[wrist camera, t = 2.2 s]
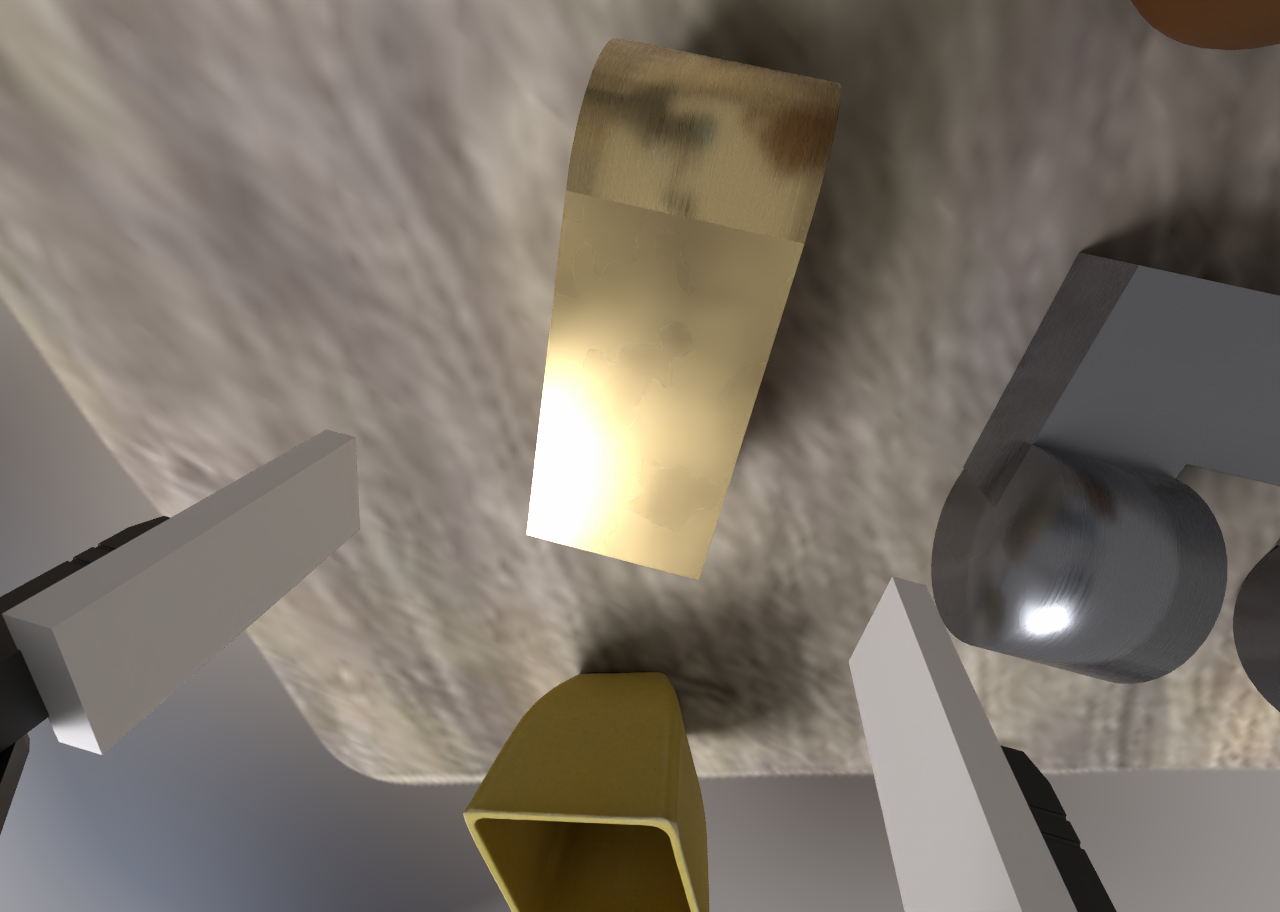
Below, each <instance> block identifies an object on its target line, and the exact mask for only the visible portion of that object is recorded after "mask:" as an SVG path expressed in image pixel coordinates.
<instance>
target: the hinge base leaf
mask: <svg viewBox="0 0 1280 912" xmlns="http://www.w3.org/2000/svg"><path fill="white" fill-rule="evenodd" d="M1186 464H1189V465H1193V466H1197V467H1201V468H1205V469H1210V470H1214V471H1218V472H1222V473H1226V474H1231V475H1235V476H1239V477H1243V478H1247V479H1252V480H1256V481H1260V482H1264V483H1268V484H1273V485H1277V486H1280V296H1279V295H1274V294H1270V293H1265V292H1260V291H1256V290H1251V289H1247V288H1242V287H1237V286H1233V285H1228V284H1224V283H1219V282H1214V281H1210V280H1205V279H1201V278H1196V277H1191V276H1187V275H1182V274H1178V273H1173V272H1168V271H1164V270H1159V269H1154V268H1150V267H1145V266H1141V265H1136V264H1131V263H1127V262H1122V261H1117V260H1113V259H1108V258H1103V257H1099V256H1094V255H1089V254H1085V253H1079V255H1078V256H1077V258H1076V260H1075V262H1074V264H1073V266H1072V267H1071V269H1070V271H1069V273H1068V275H1067V277H1066V279H1065V280H1064V282H1063V284H1062V286H1061V288H1060V290H1059V292H1058V293H1057V295H1056V297H1055V299H1054V301H1053V303H1052V304H1051V306H1050V308H1049V310H1048V312H1047V314H1046V316H1045V317H1044V319H1043V321H1042V323H1041V325H1040V327H1039V329H1038V330H1037V332H1036V334H1035V336H1034V338H1033V340H1032V342H1031V343H1030V345H1029V347H1028V349H1027V351H1026V353H1025V354H1024V356H1023V358H1022V360H1021V362H1020V364H1019V366H1018V367H1017V369H1016V371H1015V373H1014V375H1013V377H1012V379H1011V380H1010V382H1009V384H1008V386H1007V388H1006V390H1005V391H1004V393H1003V395H1002V397H1001V399H1000V401H999V403H998V404H997V406H996V408H995V410H994V412H993V414H992V416H991V417H990V419H989V421H988V423H987V425H986V427H985V428H984V430H983V432H982V434H981V436H980V438H979V440H978V441H977V443H976V445H975V447H974V449H973V451H972V453H971V454H970V456H969V458H968V460H967V462H966V464H965V465H964V467H963V468H964V469H965V470H964V471H963V472H962V474H961V475H960V477H959V478H958V479H957V481H956V483H955V484H954V486H953V488H952V490H951V492H950V494H949V496H948V498H947V500H946V502H945V505H944V507H943V509H942V512H941V515H940V518H939V521H938V525H937V529H936V533H935V538H934V544H933V551H932V564H931V575H932V587H933V593H934V598H935V602H936V606H937V609H938V611H939V614H940V616H941V618H942V620H943V622H944V624H945V625H946V627H947V628H948V630H949V631H950V632H951V633H952V634H953V635H954V636H955V637H956V638H958V639H959V640H961V641H962V642H964V643H967V644H969V645H972V646H976V647H980V648H984V649H987V650H991V651H995V652H999V653H1003V654H1006V655H1010V656H1014V657H1018V658H1022V659H1025V660H1029V661H1033V662H1037V663H1040V664H1044V665H1048V666H1052V667H1056V668H1059V669H1063V670H1067V671H1071V672H1075V673H1078V674H1082V675H1086V676H1090V677H1094V678H1097V679H1101V680H1105V681H1109V682H1114V683H1121V684H1134V683H1142V682H1147V681H1150V680H1154V679H1157V678H1160V677H1162V676H1164V675H1166V674H1168V673H1170V672H1172V671H1173V670H1175V669H1176V668H1178V667H1179V666H1181V665H1182V664H1183V663H1185V662H1186V661H1187V660H1188V659H1189V658H1190V657H1191V656H1192V655H1193V654H1194V653H1195V652H1196V651H1197V650H1198V648H1199V647H1200V646H1201V645H1202V644H1203V642H1204V641H1205V640H1206V638H1207V636H1208V635H1209V633H1210V631H1211V630H1212V628H1213V626H1214V624H1215V622H1216V620H1217V617H1218V615H1219V613H1220V610H1221V606H1222V603H1223V599H1224V596H1225V590H1226V583H1227V556H1226V548H1225V543H1224V540H1223V536H1222V532H1221V529H1220V527H1219V525H1218V523H1217V520H1216V518H1215V516H1214V515H1213V513H1212V511H1211V510H1210V508H1209V507H1208V505H1207V504H1206V503H1205V502H1204V501H1203V499H1202V498H1201V497H1200V496H1199V495H1198V494H1197V493H1196V492H1195V491H1193V490H1192V489H1191V488H1190V487H1189V486H1187V485H1186V484H1184V483H1182V482H1180V481H1179V480H1177V479H1176V477H1177V476H1178V475H1179V473H1180V472H1181V471H1182V469H1183V468H1184V467H1185V465H1186ZM1276 544H1277V545H1279V547H1277V548H1276V549H1275V550H1273V551H1272V552H1271V553H1269V554H1268V555H1267V556H1265V557H1264V558H1263V559H1262V560H1261V561H1260V562H1259V563H1258V564H1257V565H1256V566H1255V568H1254V569H1253V570H1252V571H1251V573H1250V574H1249V575H1248V577H1247V579H1246V580H1245V582H1244V584H1243V585H1242V588H1241V590H1240V592H1239V595H1238V598H1237V601H1236V605H1235V610H1234V617H1233V633H1234V640H1235V645H1236V649H1237V653H1238V656H1239V658H1240V661H1241V663H1242V666H1243V668H1244V670H1245V671H1246V673H1247V675H1248V677H1249V679H1250V680H1251V681H1252V683H1253V684H1254V686H1255V687H1256V688H1257V690H1258V691H1259V692H1260V693H1261V694H1262V695H1263V697H1264V698H1265V699H1266V700H1267V701H1268V702H1269V703H1270V704H1271V705H1272V706H1274V707H1275V708H1276V709H1277V710H1278V711H1279V712H1280V540H1279V541H1278V542H1277V543H1276Z"/></svg>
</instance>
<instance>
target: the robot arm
mask: <svg viewBox="0 0 1280 912" xmlns="http://www.w3.org/2000/svg"><path fill="white" fill-rule="evenodd" d="M359 529H360V519H359V498H358V477H357V456H356V437H353V436H349V435H345V434H341V433H337V432H334V431H330V430H325V431H323V432H321V433H320V434H318V435H316V436H314V437H312V438H311V439H309V440H307V441H305V442H304V443H302V444H300V445H298V446H297V447H295V448H293V449H291V450H290V451H288V452H286V453H284V454H283V455H281V456H279V457H277V458H275V459H274V460H272V461H270V462H268V463H267V464H265V465H263V466H261V467H260V468H258V469H256V470H254V471H253V472H251V473H249V474H247V475H246V476H244V477H242V478H240V479H238V480H237V481H235V482H233V483H231V484H230V485H228V486H226V487H224V488H223V489H221V490H219V491H217V492H216V493H214V494H212V495H210V496H209V497H207V498H205V499H203V500H201V501H200V502H198V503H196V504H194V505H193V506H191V507H189V508H187V509H186V510H184V511H182V512H180V513H179V514H177V515H175V516H173V517H172V518H169V517H166V516H162V517H159V518H156V519H153V520H150V521H147V522H144V523H141V524H137V525H135V526H132V527H129V528H127V529H125V530H123V531H121V532H119V533H117V534H116V535H114V536H112V537H110V538H108V539H106V540H104V541H103V542H101V543H99V544H98V547H96V548H94V547H92V548H90V549H88V550H86V551H84V552H82V553H81V554H79V555H77V556H75V557H73V560H72V561H71V562H69V561H66V562H64V563H62V564H60V565H58V566H57V567H55V568H53V569H51V570H49V571H47V572H46V573H44V574H42V575H40V576H38V577H37V578H35V579H33V580H31V581H29V582H27V583H25V584H24V585H22V586H20V587H18V588H16V589H14V590H13V591H11V592H9V593H7V594H5V595H3V596H2V597H0V834H1V831H2V828H3V825H4V822H5V819H6V817H7V814H8V811H9V808H10V805H11V802H12V799H13V796H14V793H15V790H16V788H17V785H18V782H19V779H20V776H21V773H22V770H23V767H24V764H25V762H26V759H27V756H28V753H29V744H30V743H29V742H30V738H29V736H28V734H27V733H28V732H29V731H30V730H32V729H33V728H34V727H35V726H37V725H38V724H39V723H41V722H42V721H44V720H45V719H46V718H47V717H48V718H49V721H50V723H51V725H52V727H53V730H54V732H55V734H56V736H57V739H58V740H59V742H62V743H65V744H68V745H71V746H75V747H78V748H81V749H84V750H88V751H91V752H94V753H97V754H101V755H103V754H104V753H105V752H106V751H107V750H108V749H110V748H111V747H112V746H113V745H114V744H115V743H116V742H117V741H119V740H120V739H121V738H122V737H123V736H124V735H126V734H127V733H128V732H129V731H130V730H131V729H132V728H134V726H136V725H137V724H138V723H139V722H140V721H142V720H143V719H144V718H145V717H146V716H147V715H148V714H150V713H151V712H152V711H153V710H154V709H155V708H156V707H157V706H159V705H160V704H161V703H162V702H163V701H164V700H165V699H167V698H168V697H169V696H170V695H171V694H172V693H173V692H175V691H176V690H177V689H178V688H179V687H180V686H181V685H183V684H184V683H185V682H186V681H187V680H188V679H189V678H191V677H192V676H193V675H194V674H195V673H196V672H197V671H199V670H200V669H201V668H202V667H203V666H204V665H205V664H207V663H208V662H209V661H210V660H211V659H212V658H213V657H215V656H216V655H217V654H218V653H219V652H220V651H221V650H223V648H225V646H227V645H228V644H229V643H231V642H232V641H233V640H234V639H235V638H236V637H237V636H239V635H240V634H241V633H242V632H243V631H244V630H245V629H247V628H248V627H249V626H250V625H251V624H252V623H253V622H254V621H256V620H257V619H258V618H259V617H260V616H261V615H262V614H264V613H265V612H266V611H267V610H268V609H269V608H270V607H272V606H273V605H274V604H275V603H276V602H277V601H278V600H280V599H281V598H282V597H283V596H284V595H285V594H286V593H288V592H289V591H290V590H291V589H292V588H293V587H294V586H296V585H297V584H298V583H299V582H300V581H301V580H302V579H304V578H305V577H306V576H307V575H308V574H309V573H310V572H312V571H313V570H314V569H315V568H316V567H317V566H318V565H319V564H321V563H322V562H323V561H324V560H325V559H326V558H327V557H329V556H330V555H331V554H332V553H333V552H334V551H335V550H337V549H338V548H339V547H340V546H341V545H342V544H343V543H345V542H346V541H347V540H348V539H349V538H350V537H351V536H353V535H354V534H355V533H356V532H357V531H358V530H359ZM849 665H850V670H851V674H852V679H853V683H854V688H855V692H856V697H857V701H858V705H859V710H860V714H861V719H862V723H863V728H864V732H865V737H866V741H867V746H868V750H869V754H870V759H871V763H872V768H873V772H874V777H875V781H876V786H877V790H878V794H879V799H880V803H881V808H882V812H883V817H884V821H885V825H886V830H887V835H888V839H889V843H890V848H891V852H892V857H893V861H894V865H895V870H896V875H897V879H898V884H899V887H900V892H901V897H902V901H903V906H904V910H905V912H1116V910H1115V908H1114V906H1113V904H1112V902H1111V900H1110V898H1109V896H1108V894H1107V893H1106V890H1105V889H1104V887H1103V885H1102V883H1101V881H1100V879H1099V877H1098V875H1097V873H1096V871H1095V869H1094V867H1093V865H1092V864H1091V862H1090V860H1089V858H1088V856H1087V854H1086V852H1085V850H1083V849H1081V848H1080V840H1079V838H1078V837H1077V835H1076V833H1075V831H1074V829H1073V827H1072V825H1071V823H1070V822H1069V821H1067V820H1066V814H1065V811H1064V810H1063V808H1062V806H1061V804H1060V802H1059V800H1058V798H1057V796H1056V794H1055V792H1054V790H1053V788H1052V786H1051V784H1050V783H1049V781H1048V780H1047V779H1046V778H1045V777H1044V775H1043V774H1042V773H1041V772H1040V771H1039V770H1038V768H1037V767H1036V766H1035V765H1034V764H1033V762H1032V761H1031V760H1030V759H1029V758H1028V757H1027V755H1026V754H1025V753H1024V752H1023V751H1019V750H1015V749H1012V748H1008V747H1004V746H1001V745H1000V744H999V742H998V740H997V737H996V735H995V733H994V731H993V729H992V727H991V725H990V722H989V720H988V718H987V716H986V714H985V712H984V710H983V707H982V705H981V703H980V701H979V699H978V697H977V694H976V692H975V690H974V688H973V686H972V684H971V682H970V679H969V677H968V675H967V673H966V671H965V669H964V666H963V664H962V662H961V660H960V658H959V656H958V654H957V651H956V649H955V647H954V645H953V643H952V641H951V639H950V636H949V634H948V632H947V630H946V628H945V626H944V623H943V621H942V619H941V617H940V615H939V613H938V611H937V608H936V606H935V604H934V602H933V600H932V598H931V595H930V593H929V591H928V589H927V587H926V585H922V584H918V583H915V582H911V581H907V580H903V579H899V578H895V577H892V578H891V580H890V582H889V584H888V586H887V588H886V590H885V592H884V594H883V596H882V598H881V600H880V602H879V604H878V605H877V607H876V609H875V611H874V613H873V615H872V617H871V619H870V621H869V623H868V625H867V627H866V629H865V631H864V633H863V635H862V637H861V639H860V640H859V642H858V644H857V646H856V648H855V650H854V652H853V654H852V656H851V658H850V660H849Z"/></svg>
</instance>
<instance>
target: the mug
mask: <svg viewBox="0 0 1280 912" xmlns="http://www.w3.org/2000/svg"><path fill="white" fill-rule="evenodd" d="M1131 1H1132V2H1133V4H1134V5H1135V7H1136V8H1137V10H1138V11H1139V12H1140V14H1141V15H1142V16H1143V17H1144V18H1145V19H1146V20H1147V21H1148V22H1149V23H1150V24H1151V25H1152V26H1153V27H1154V28H1155V29H1157V30H1158V31H1160V32H1161V33H1163V34H1164V35H1166V36H1167V37H1169V38H1172V39H1174V40H1176V41H1179V42H1181V43H1184V44H1187V45H1191V46H1196V47H1200V48H1209V49H1224V50H1237V49H1250V48H1258V47H1264V46H1269V45H1274V44H1279V43H1280V0H1131Z"/></svg>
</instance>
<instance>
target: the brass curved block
mask: <svg viewBox="0 0 1280 912" xmlns="http://www.w3.org/2000/svg"><path fill="white" fill-rule="evenodd" d="M840 99H841V84H840V83H837V82H832V81H827V80H822V79H817V78H812V77H807V76H802V75H797V74H792V73H787V72H783V71H778V70H773V69H768V68H763V67H758V66H753V65H748V64H743V63H738V62H734V61H729V60H724V59H719V58H714V57H709V56H704V55H699V54H694V53H689V52H684V51H680V50H675V49H670V48H665V47H660V46H655V45H650V44H645V43H640V42H635V41H630V40H626V39H621V38H613V39H612V40H610V41H609V42H608V43H607V45H606V46H605V47H604V49H603V50H602V52H601V54H600V56H599V58H598V60H597V62H596V64H595V67H594V69H593V71H592V74H591V77H590V80H589V83H588V86H587V89H586V92H585V96H584V99H583V103H582V106H581V110H580V115H579V119H578V123H577V127H576V132H575V137H574V142H573V147H572V153H571V159H570V165H569V172H568V179H567V187H566V195H565V204H564V213H563V221H562V230H561V239H560V247H559V256H558V265H557V274H556V282H555V291H554V300H553V308H552V317H551V326H550V335H549V343H548V352H547V361H546V369H545V378H544V387H543V395H542V404H541V413H540V422H539V430H538V439H537V448H536V456H535V465H534V474H533V483H532V491H531V500H530V509H529V517H528V526H527V535H530V536H534V537H537V538H541V539H545V540H549V541H552V542H556V543H560V544H564V545H568V546H571V547H575V548H579V549H583V550H586V551H590V552H594V553H598V554H601V555H605V556H609V557H613V558H617V559H620V560H624V561H628V562H632V563H635V564H639V565H643V566H647V567H651V568H654V569H658V570H662V571H666V572H669V573H673V574H677V575H681V576H684V577H688V578H692V579H696V580H699V579H700V575H701V572H702V569H703V566H704V563H705V560H706V556H707V553H708V550H709V547H710V544H711V540H712V537H713V534H714V531H715V528H716V524H717V521H718V518H719V515H720V512H721V508H722V505H723V502H724V499H725V496H726V492H727V489H728V486H729V483H730V480H731V477H732V473H733V470H734V467H735V464H736V461H737V457H738V454H739V451H740V448H741V445H742V441H743V438H744V435H745V432H746V429H747V425H748V422H749V419H750V416H751V413H752V410H753V406H754V403H755V400H756V397H757V394H758V390H759V387H760V384H761V381H762V378H763V374H764V371H765V368H766V365H767V362H768V358H769V355H770V352H771V349H772V346H773V343H774V339H775V336H776V333H777V330H778V327H779V323H780V320H781V317H782V314H783V311H784V307H785V304H786V301H787V298H788V295H789V291H790V288H791V285H792V282H793V279H794V276H795V272H796V269H797V266H798V263H799V260H800V256H801V253H802V250H803V247H804V244H805V240H806V237H807V234H808V231H809V227H810V224H811V221H812V217H813V214H814V210H815V207H816V203H817V200H818V196H819V193H820V189H821V185H822V182H823V178H824V174H825V170H826V166H827V162H828V159H829V154H830V150H831V146H832V142H833V137H834V133H835V128H836V123H837V118H838V112H839V106H840Z"/></svg>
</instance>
